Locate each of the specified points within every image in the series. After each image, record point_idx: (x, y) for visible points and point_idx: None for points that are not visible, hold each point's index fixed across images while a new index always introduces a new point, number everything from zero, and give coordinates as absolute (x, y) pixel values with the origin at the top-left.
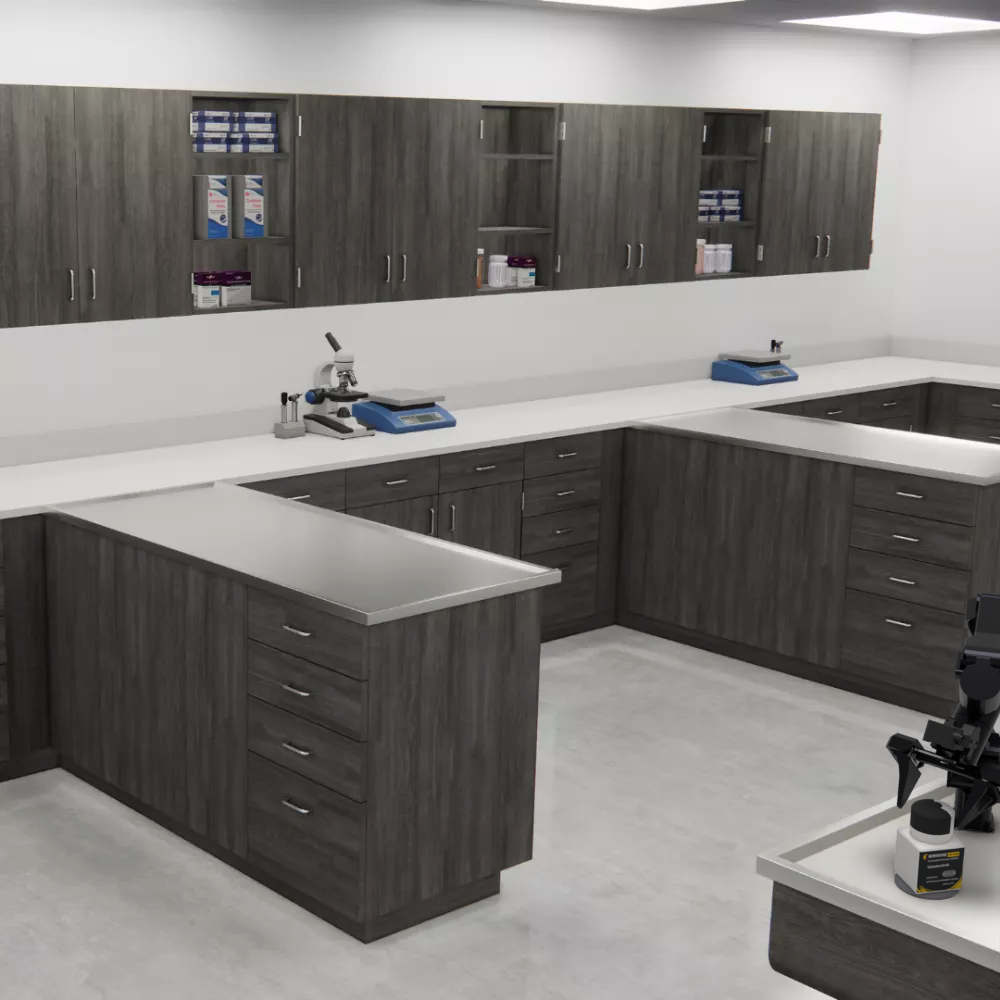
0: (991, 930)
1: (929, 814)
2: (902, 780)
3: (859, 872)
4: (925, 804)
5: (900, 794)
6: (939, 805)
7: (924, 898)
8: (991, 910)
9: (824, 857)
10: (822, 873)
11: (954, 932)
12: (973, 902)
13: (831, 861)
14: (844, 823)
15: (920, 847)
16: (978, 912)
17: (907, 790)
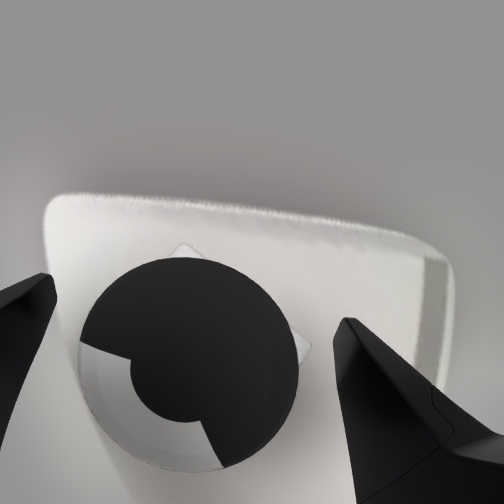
0: (45, 245)
1: (163, 269)
2: (426, 395)
3: (333, 301)
4: (220, 350)
5: (375, 345)
6: (149, 386)
7: None
8: (58, 317)
9: (404, 310)
10: (377, 252)
11: (94, 199)
12: None
13: (389, 305)
14: None
15: (187, 252)
16: (74, 295)
17: (366, 407)
